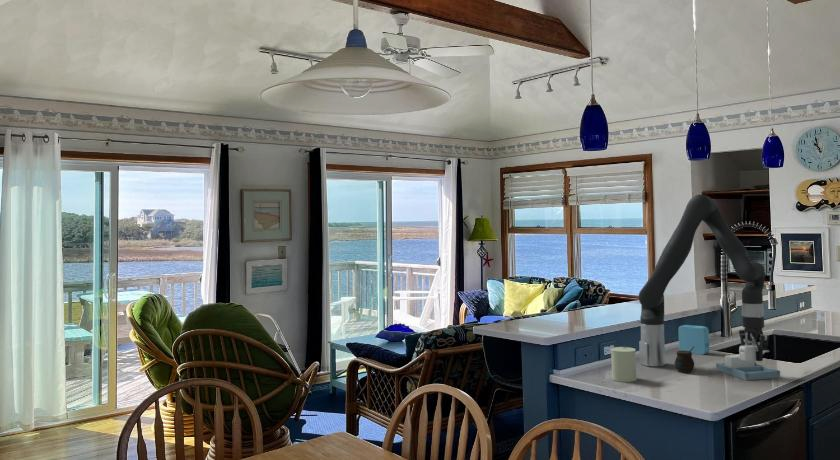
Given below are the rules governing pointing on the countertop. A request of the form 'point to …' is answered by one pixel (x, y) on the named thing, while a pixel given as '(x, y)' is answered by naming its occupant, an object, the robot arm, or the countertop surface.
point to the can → (623, 364)
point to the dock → (746, 369)
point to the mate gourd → (684, 361)
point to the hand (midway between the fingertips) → (754, 359)
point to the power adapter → (748, 353)
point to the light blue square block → (694, 339)
